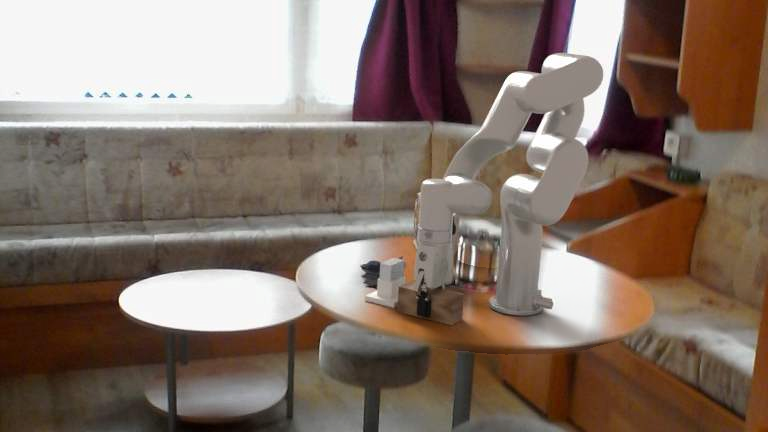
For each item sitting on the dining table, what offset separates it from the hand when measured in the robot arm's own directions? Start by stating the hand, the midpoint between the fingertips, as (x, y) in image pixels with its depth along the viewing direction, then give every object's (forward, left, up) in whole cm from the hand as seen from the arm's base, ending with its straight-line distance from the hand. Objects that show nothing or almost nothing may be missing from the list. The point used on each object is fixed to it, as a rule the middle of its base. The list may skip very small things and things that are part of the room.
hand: (429, 312), depth 197 cm
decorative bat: (+25, -18, -1) cm, 31 cm away
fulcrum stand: (+13, -4, -1) cm, 14 cm away
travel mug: (+11, -23, -1) cm, 26 cm away
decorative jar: (+27, -51, -1) cm, 58 cm away
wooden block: (0, 0, -1) cm, 1 cm away
